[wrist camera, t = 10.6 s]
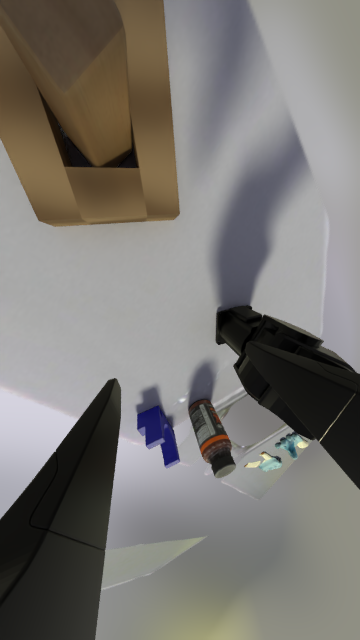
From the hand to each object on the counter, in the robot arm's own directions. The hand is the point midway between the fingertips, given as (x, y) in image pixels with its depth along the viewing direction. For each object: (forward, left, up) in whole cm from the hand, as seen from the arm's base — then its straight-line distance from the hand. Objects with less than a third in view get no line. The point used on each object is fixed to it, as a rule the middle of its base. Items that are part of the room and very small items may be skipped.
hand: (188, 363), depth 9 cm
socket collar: (+16, +3, -12) cm, 20 cm away
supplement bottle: (-27, -5, -12) cm, 30 cm away
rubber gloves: (-88, -46, -13) cm, 100 cm away
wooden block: (+16, +3, -12) cm, 20 cm away
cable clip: (-28, +5, -12) cm, 31 cm away
